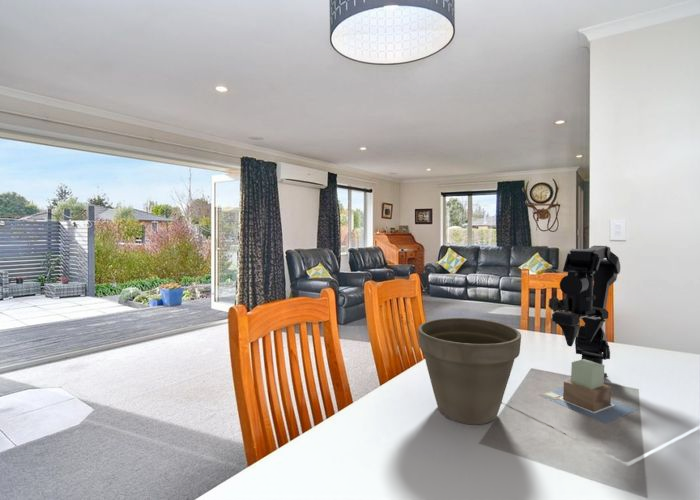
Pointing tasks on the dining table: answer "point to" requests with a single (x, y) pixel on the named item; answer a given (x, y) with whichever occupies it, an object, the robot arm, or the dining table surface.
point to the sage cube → (587, 374)
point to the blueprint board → (601, 414)
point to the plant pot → (469, 365)
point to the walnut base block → (587, 395)
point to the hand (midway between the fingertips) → (579, 343)
